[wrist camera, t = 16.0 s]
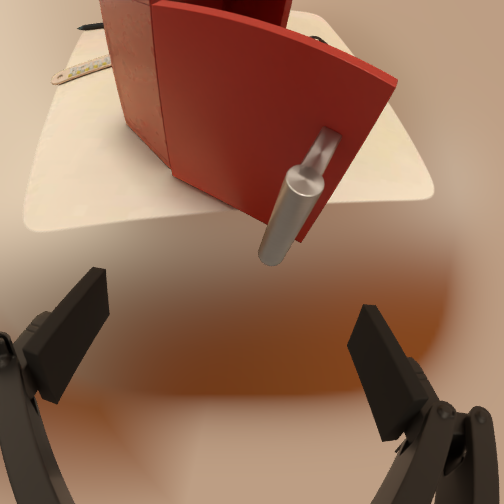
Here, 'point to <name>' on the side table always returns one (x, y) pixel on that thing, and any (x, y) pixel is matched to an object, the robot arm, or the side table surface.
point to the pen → (91, 26)
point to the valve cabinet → (144, 57)
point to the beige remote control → (81, 69)
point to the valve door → (261, 114)
